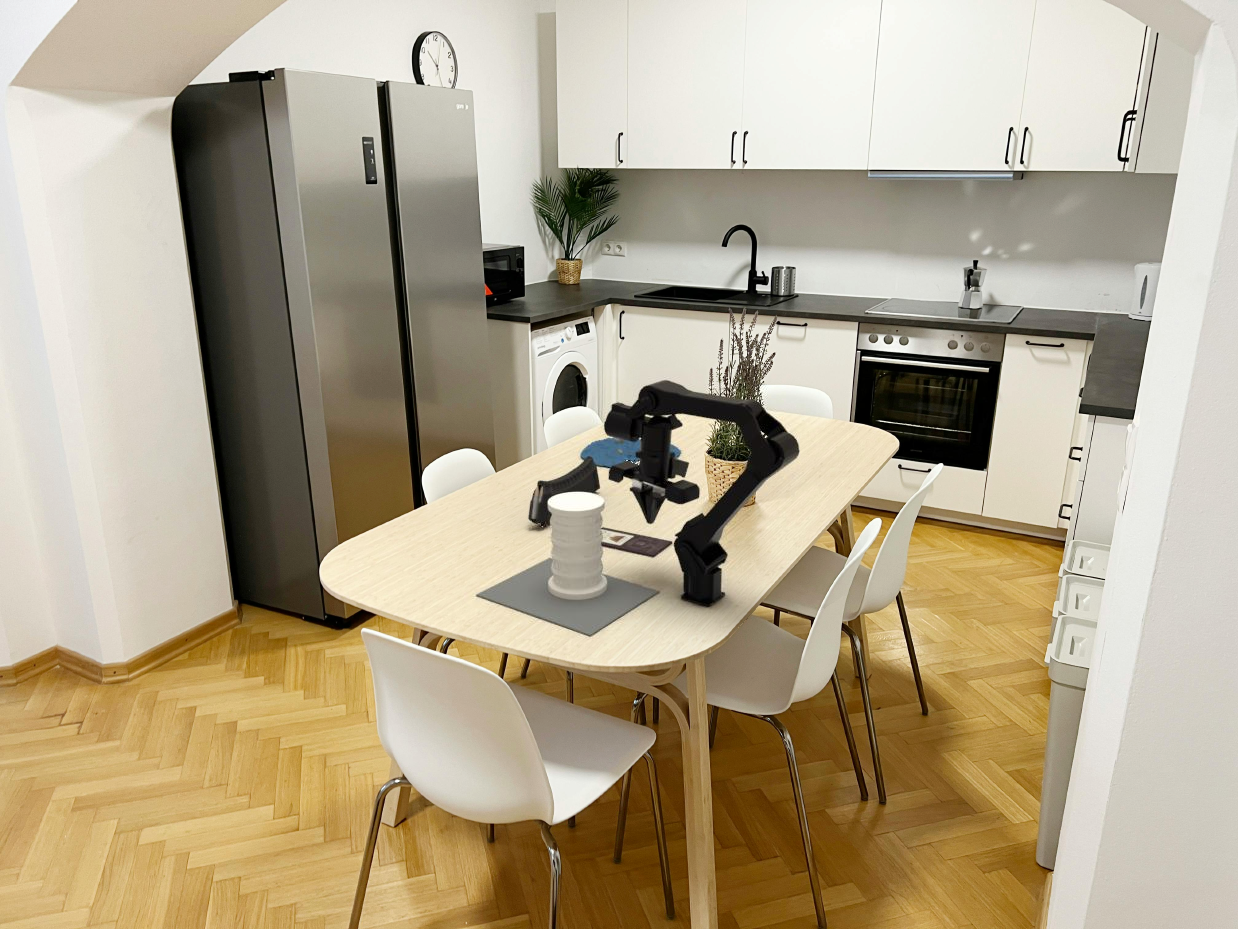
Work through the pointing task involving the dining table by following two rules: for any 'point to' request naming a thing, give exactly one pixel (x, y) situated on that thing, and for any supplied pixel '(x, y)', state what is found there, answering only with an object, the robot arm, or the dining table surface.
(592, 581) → the decorative container
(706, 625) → the dining table surface
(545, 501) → the magazine
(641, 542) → the chocolate bar
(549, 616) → the rubber mat
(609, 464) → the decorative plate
